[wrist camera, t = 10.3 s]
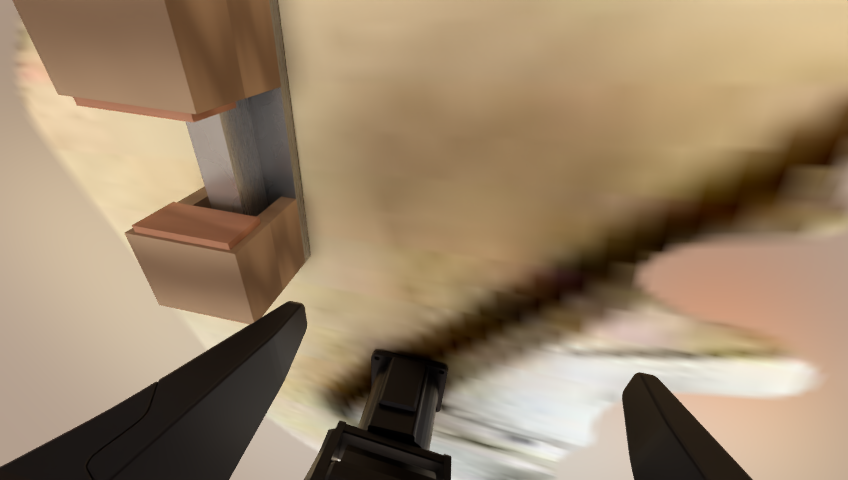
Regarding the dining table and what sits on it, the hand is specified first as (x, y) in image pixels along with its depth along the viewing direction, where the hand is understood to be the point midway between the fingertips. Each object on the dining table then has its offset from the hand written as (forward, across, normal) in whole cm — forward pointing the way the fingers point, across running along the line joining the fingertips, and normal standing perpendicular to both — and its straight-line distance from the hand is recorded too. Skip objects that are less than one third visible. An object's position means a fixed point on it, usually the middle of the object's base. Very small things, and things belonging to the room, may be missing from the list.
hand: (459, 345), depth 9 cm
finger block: (+11, +14, -6) cm, 19 cm away
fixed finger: (+11, +14, +6) cm, 19 cm away
